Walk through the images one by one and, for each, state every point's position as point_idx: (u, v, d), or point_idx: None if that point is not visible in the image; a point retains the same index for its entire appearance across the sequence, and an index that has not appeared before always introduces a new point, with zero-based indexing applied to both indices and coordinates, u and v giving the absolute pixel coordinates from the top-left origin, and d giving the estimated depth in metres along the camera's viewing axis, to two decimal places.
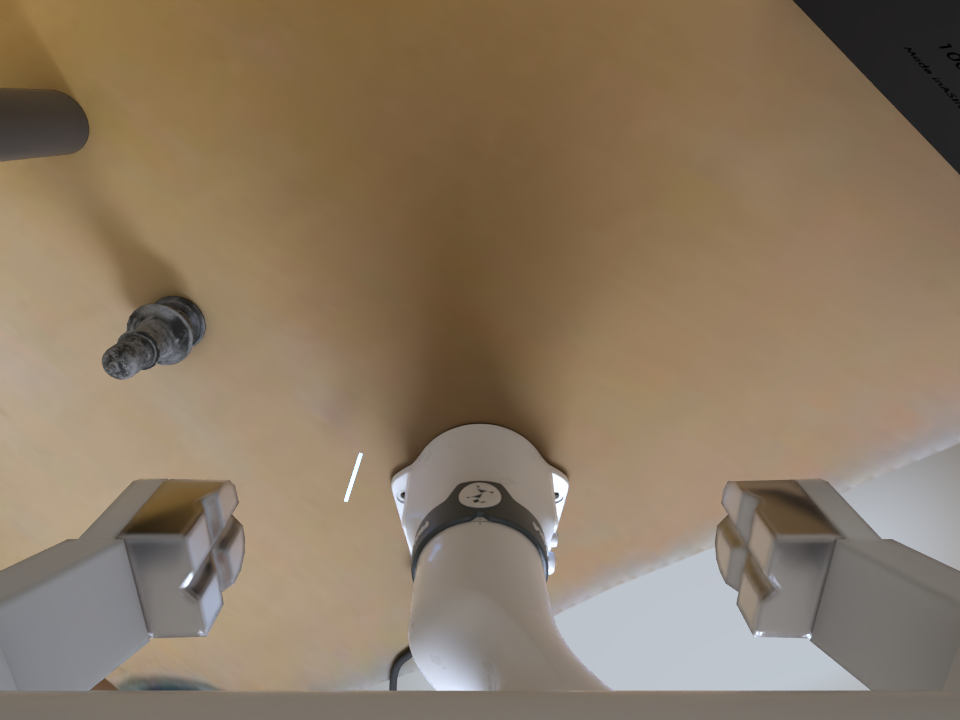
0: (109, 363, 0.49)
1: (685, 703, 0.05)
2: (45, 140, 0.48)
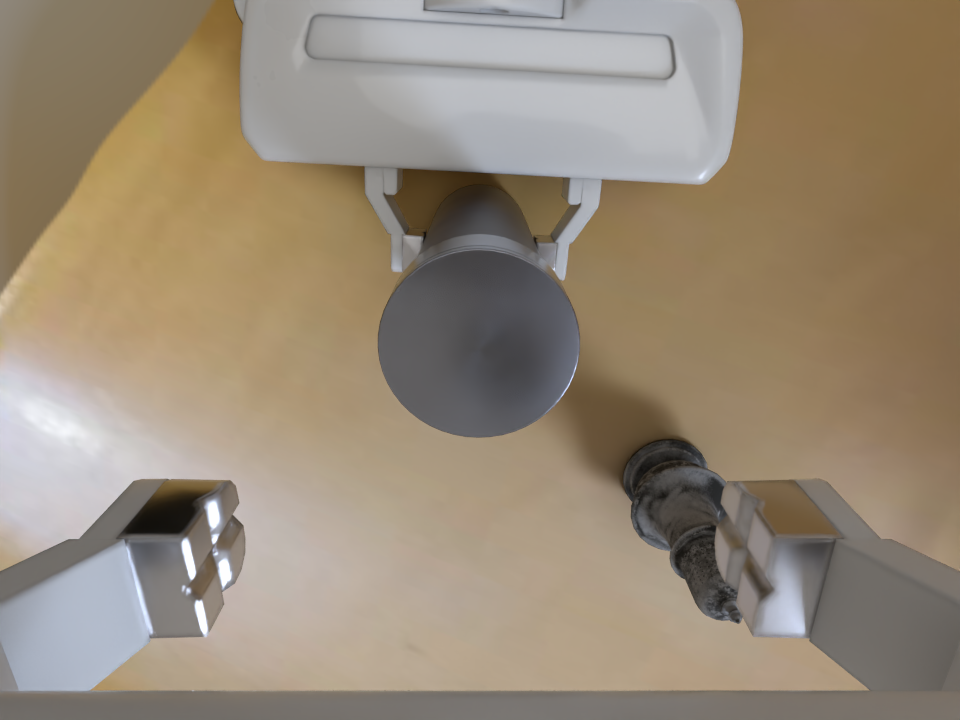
0: (725, 604, 0.29)
1: (685, 703, 0.05)
2: None
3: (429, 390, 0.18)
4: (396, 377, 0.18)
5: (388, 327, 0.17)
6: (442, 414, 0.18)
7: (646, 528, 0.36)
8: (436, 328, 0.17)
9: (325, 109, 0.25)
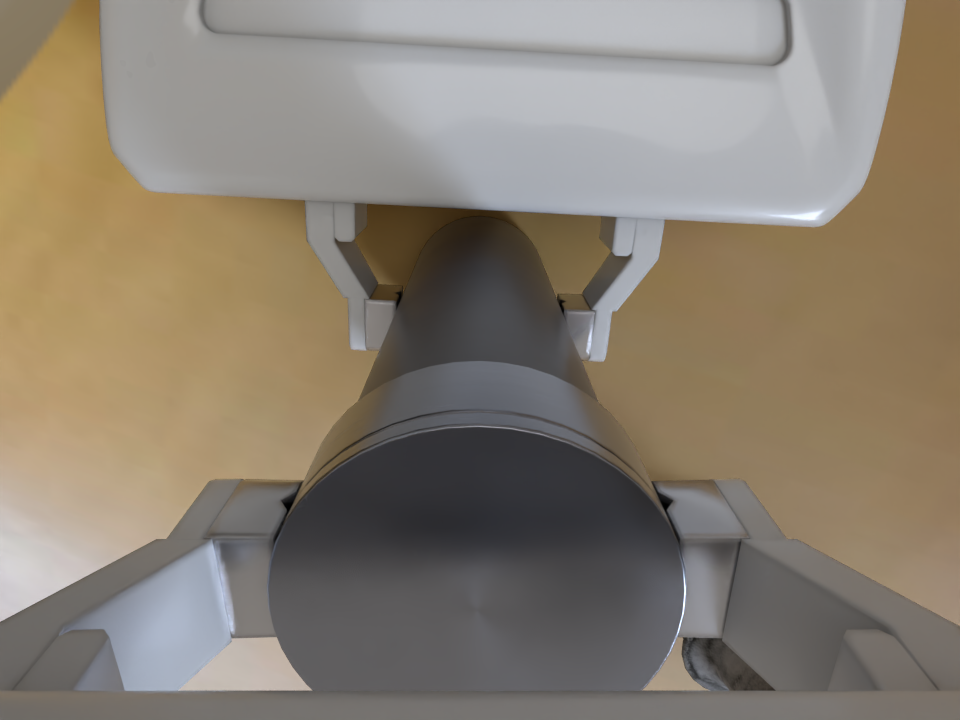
0: None
1: (685, 703, 0.05)
2: None
3: (377, 680, 0.09)
4: (309, 658, 0.09)
5: (286, 573, 0.08)
6: None
7: (702, 670, 0.27)
8: (387, 574, 0.08)
9: (237, 113, 0.16)
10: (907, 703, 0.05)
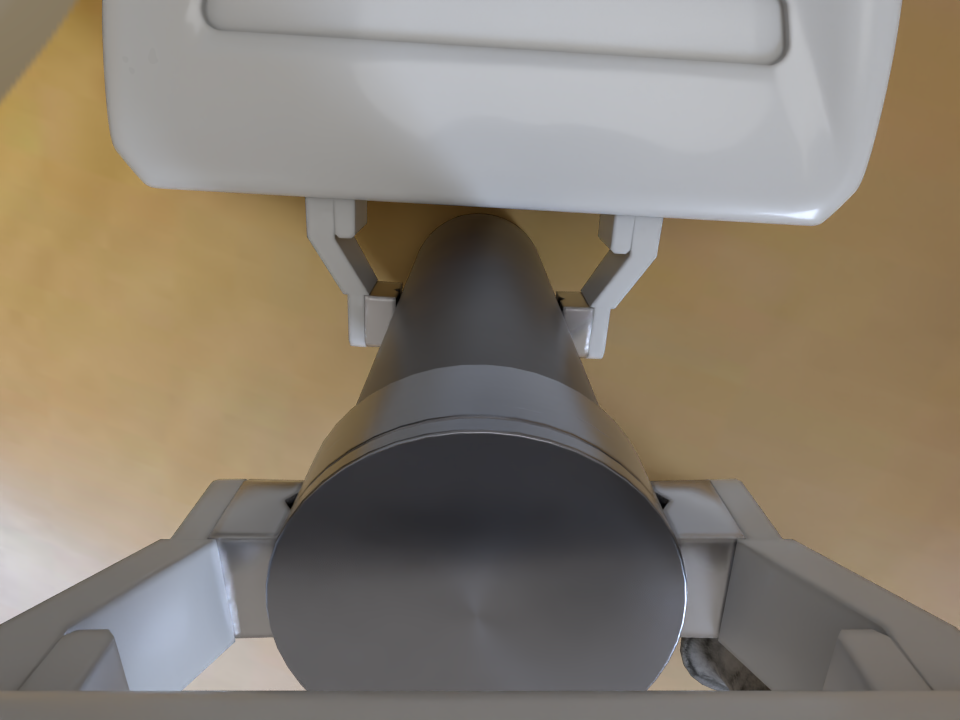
0: None
1: (685, 703, 0.05)
2: None
3: None
4: None
5: None
6: None
7: (701, 667, 0.27)
8: (402, 660, 0.09)
9: (238, 110, 0.16)
10: (907, 703, 0.05)
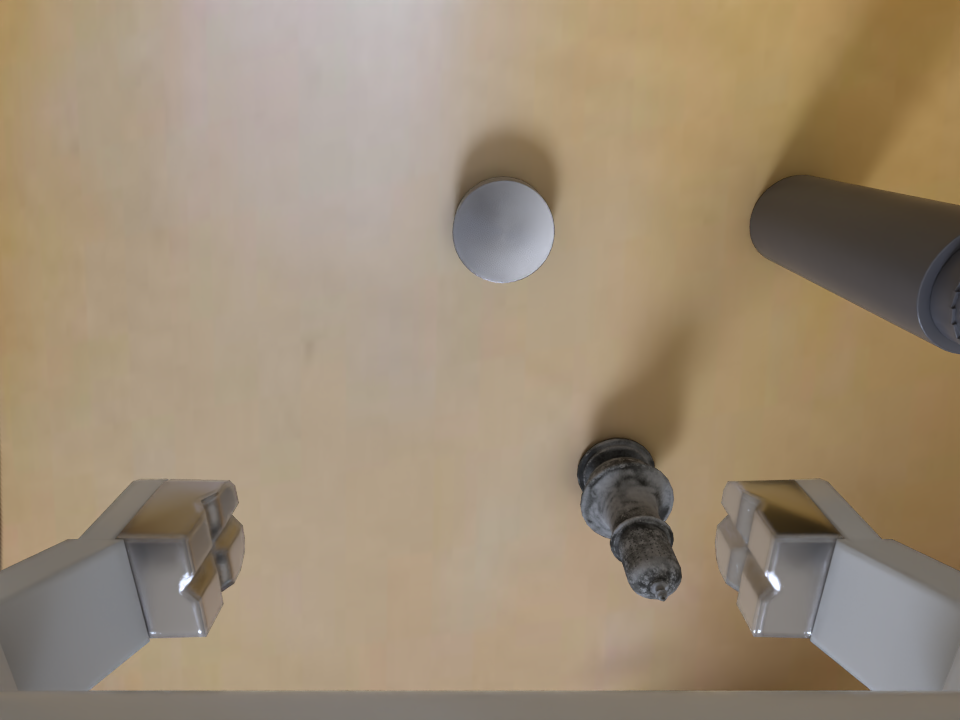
0: (661, 582, 0.32)
1: (685, 703, 0.05)
2: None
3: (537, 239, 0.35)
4: (540, 257, 0.35)
5: (520, 275, 0.35)
6: (544, 226, 0.34)
7: (601, 486, 0.38)
8: (507, 256, 0.35)
9: None
10: (907, 703, 0.05)
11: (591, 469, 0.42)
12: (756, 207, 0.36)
